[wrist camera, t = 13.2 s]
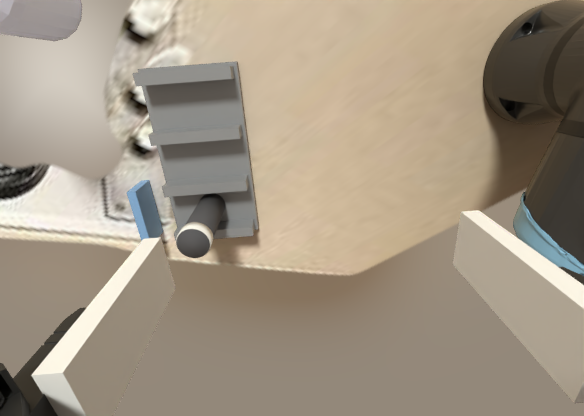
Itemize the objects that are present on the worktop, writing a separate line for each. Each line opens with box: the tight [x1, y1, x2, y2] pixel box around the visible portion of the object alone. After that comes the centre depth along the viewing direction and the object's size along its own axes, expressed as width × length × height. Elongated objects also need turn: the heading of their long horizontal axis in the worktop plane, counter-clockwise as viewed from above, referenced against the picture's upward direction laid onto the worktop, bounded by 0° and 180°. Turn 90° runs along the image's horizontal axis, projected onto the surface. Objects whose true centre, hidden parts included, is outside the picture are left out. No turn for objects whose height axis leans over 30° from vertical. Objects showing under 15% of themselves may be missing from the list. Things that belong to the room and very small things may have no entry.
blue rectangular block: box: [127, 180, 163, 240], centre depth 47 cm, size 1×9×5 cm, turn 4°
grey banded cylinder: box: [176, 193, 226, 258], centre depth 43 cm, size 4×4×12 cm
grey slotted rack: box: [133, 62, 259, 240], centre depth 45 cm, size 13×25×4 cm, turn 4°
